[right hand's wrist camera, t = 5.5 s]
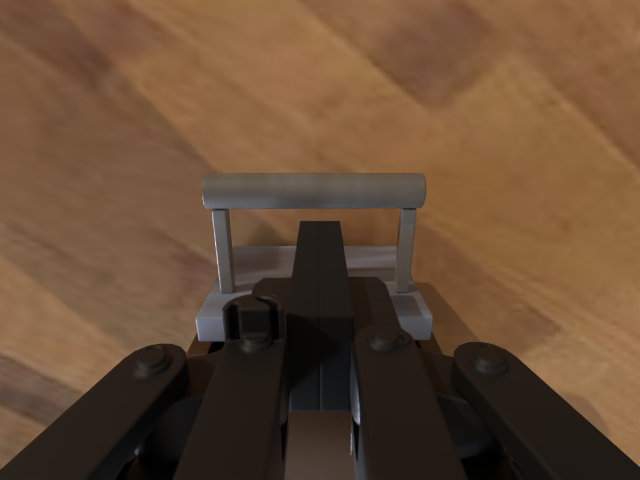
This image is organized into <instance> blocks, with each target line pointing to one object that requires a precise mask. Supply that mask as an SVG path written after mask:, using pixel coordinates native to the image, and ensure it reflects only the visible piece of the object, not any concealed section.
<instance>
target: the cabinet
mask: <svg viewBox="0 0 640 480" xmlns="http://www.w3.org/2000/svg"><path fill="white" fill-rule="evenodd" d="M415 342H416V345H417V347H419V348H421V349H423V350H425V351H429V352H432V353H436V354H441V355H443V353H442V351H441V349H440V347H439V345H438V343H437V341H436V339H435V337H434V334H433V332H432V330H431V338H430V340H415ZM224 343H225V341H215V342H200V341H199V340H198V333H197V334H196V336H195V338H194V340H193V342H192V344H191V346H190V348H189V350H188V352H187V354H186V357H187V359H188V358H193V357H198V356H202V355H206V354H210V353H213V352H216V351H218V350H220V349H222V348H223V346H224ZM288 424H289V434H288V445H287V456H286V467H285V478H284V480H356V478H355V467H354V455H350V449H351V424H352V408H351V412H289V410H288Z"/></svg>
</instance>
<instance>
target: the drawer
mask: <svg viewBox="0 0 640 480" xmlns="http://www.w3.org/2000/svg"><path fill="white" fill-rule="evenodd" d="M201 191H202V199H203V203H204V206H205V207H206V208H207V209H213V210H212V218H213V227H214V236H215V246H216V255H217V264H218V273H219V276H218V277H217V279H216V281H215V283H214V285H213V287H212V289H211V290H210V292H209V294H208V296H207V298H206V300H205V302H204V303H203V305H202V307H201V309H200V311H199V313H198V314H197V316H196V326H197V333H198V340H199V341H200V342H215V341H225V335H224V326H223V317H222V308H223V307H224V305H225V304H226V303H227V302H229V301H230V300H232V299H234V298H236V297H239V296H243V295H246V294H251V293H252V290H253V287H254V285H255V284H257V283H258V282H259V281H260V280H261V279H263V278H292V272H293V265H294V259H295V253H296V246H234V248H233V250H232V241H231V230H230V219H229V209H319V208H400V213H399V226H398V238H397V247H396V246H395V245H394V246H344V253H345V259H346V265H347V272H348V277H378V278H379V279H380V280H381V281H383V282H384V283H385V284H386V286H387V289H388V291H389V295H390V297H391V300H392V303H393V306H394V309H395V311H396V314H397V317H398V320H399V323H400V326H401V328H402V329H403V330H405V331H406V332H408V333H409V334H410V335H411V336H412V337H413V339H414V340H430V338H431V330H432V323H433V316H432V314H431V312H430V310H429V308H428V306H427V304H426V302H425V300H424V299H423V297H422V295H421V293H420V291H419V289H418V287H417V285H416V283H415V282H414V280H413V278H412V276H411V274H410V271H411V261H412V251H413V240H414V230H415V220H416V209H415V208H421V207H423V205H424V202H425V198H426V180H425V177H424V175H423V174H422V173H220V174H205V175H204V176H203V179H202V187H201Z"/></svg>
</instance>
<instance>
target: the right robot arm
mask: <svg viewBox="0 0 640 480" xmlns="http://www.w3.org/2000/svg"><path fill="white" fill-rule="evenodd" d="M222 317H223V326H224V335H225V343H224V346H223V348H222V349H220V350H218V351H216V352H213V353H210V354H206V355H202V356H198V357H193V358H188V359H187V357H186V352H185V351H184V350H183V349H182V348H181V347H179V346H176V345H173V344H155V345H150V346H146V347H144V348H142V349H139V350H137V351H135V352H133V353H132V354H130V355H129V356H127V357H126V358H124V359H123V360H122V361H121V362H120V363H119V364H118V365H117V366H115V367H114V368H113V369H112V370H111V371H110V372H109V373H108V374H107V375H105V376H104V377H103V378H102V379H101V380H100V381H99V382H98V383H97V384H95V385H94V386H93V387H92V388H91V389H90V390H89V391H88V392H87V393H85V394H84V395H83V396H82V397H81V398H80V399H79V400H78V401H77V402H75V403H74V404H73V405H72V406H71V407H70V408H69V409H68V410H67V411H65V412H64V413H63V414H62V415H61V416H60V417H59V418H58V419H57V420H55V421H54V422H53V423H52V424H51V425H50V426H49V427H48V428H47V429H45V430H44V431H43V432H42V433H41V434H40V435H39V436H38V437H37V438H35V439H34V440H33V441H32V442H31V443H30V444H29V445H28V446H27V447H25V448H24V449H23V450H22V451H21V452H20V453H19V454H18V455H17V456H15V457H14V458H13V459H12V460H11V461H10V462H9V463H8V464H7V465H5V466H4V467H3V468H2V469H1V470H0V480H284V478H285V467H286V456H287V445H288V434H289V424H288V410H289V412H351V408H352V424H351V449H350V455H354V467H355V478H356V480H640V467H639V466H638V465H637V464H636V463H635V462H633V461H632V460H631V459H630V458H629V457H628V456H627V455H626V454H624V453H623V452H622V451H621V450H620V449H619V448H618V447H617V446H616V445H614V444H613V443H612V442H611V441H610V440H609V439H608V438H607V437H605V436H604V435H603V434H602V433H601V432H600V431H599V430H598V429H596V428H595V427H594V426H593V425H592V424H591V423H590V422H589V421H587V420H586V419H585V418H584V417H583V416H582V415H581V414H580V413H579V412H577V411H576V410H575V409H574V408H573V407H572V406H571V405H570V404H568V403H567V402H566V401H565V400H564V399H563V398H562V397H561V396H559V395H558V394H557V393H556V392H555V391H554V390H553V389H552V388H551V387H549V386H548V385H547V384H546V383H545V382H544V381H543V380H542V379H540V378H539V377H538V376H537V375H536V374H535V373H534V372H533V371H531V370H530V369H529V368H528V367H527V366H526V365H525V364H524V363H522V362H521V361H520V360H519V359H518V358H517V357H516V356H514V355H513V354H511V353H510V352H508V351H507V350H505V349H503V348H500V347H498V346H496V345H493V344H489V343H483V342H468V343H465V344H462V345H459V347H458V348H457V349H456V350H455V351H454V357H450V356H445V355H441V354H436V353H432V352H429V351H425V350H423V349H421V348H419V347H417V345H416V342H415V340H414V339H413V337H412V336H411V335H410V334H409V333H408V332H406V331H405V330H403V329H402V328H401V326H400V323H399V320H398V317H397V314H396V311H395V309H394V306H393V303H392V300H391V297H390V295H389V291H388V289H387V286H386V284H385V283H384V282H383V281H381V280H380V279H379V278H378V277H348V272H347V265H346V259H345V253H344V246H343V240H342V233H341V227H340V221H300V227H299V233H298V240H297V246H296V253H295V259H294V265H293V272H292V278H263V279H261V280H260V281H259V282H258V283H257V284H255V285H254V287H253V290H252V293H251V294H246V295H243V296H239V297H236V298H234V299H232V300H230V301H229V302H227V303H226V304H225V305H224V307H223V308H222Z"/></svg>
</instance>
